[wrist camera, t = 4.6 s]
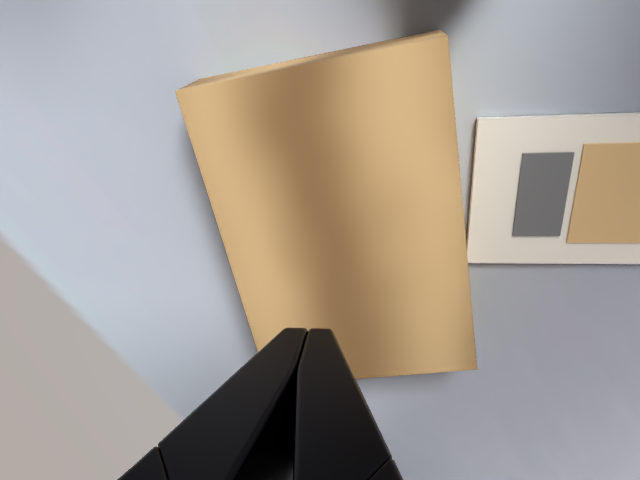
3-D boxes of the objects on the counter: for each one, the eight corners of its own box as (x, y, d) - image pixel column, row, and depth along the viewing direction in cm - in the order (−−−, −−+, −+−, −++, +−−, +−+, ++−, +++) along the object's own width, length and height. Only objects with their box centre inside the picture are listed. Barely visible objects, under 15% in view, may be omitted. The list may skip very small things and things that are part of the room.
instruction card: (712, 110, 18) (719, 112, 17) (669, 260, 20) (674, 265, 20) (476, 117, 19) (478, 119, 18) (465, 259, 21) (466, 264, 21)
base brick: (438, 28, 18) (447, 35, 15) (466, 325, 23) (477, 369, 21) (203, 77, 20) (175, 91, 17) (281, 343, 25) (268, 385, 22)
